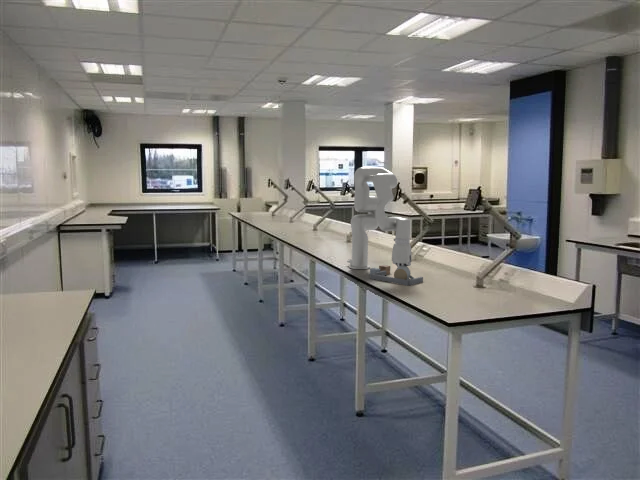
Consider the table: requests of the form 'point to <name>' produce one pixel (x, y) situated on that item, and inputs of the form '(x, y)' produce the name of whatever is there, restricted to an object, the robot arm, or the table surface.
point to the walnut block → (385, 268)
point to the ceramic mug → (403, 273)
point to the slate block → (374, 270)
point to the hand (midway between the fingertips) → (401, 275)
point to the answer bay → (395, 280)
